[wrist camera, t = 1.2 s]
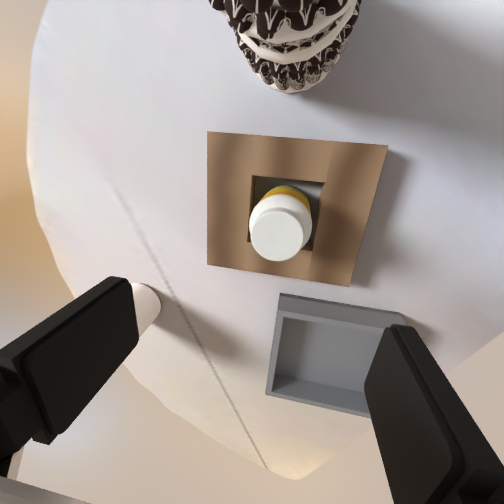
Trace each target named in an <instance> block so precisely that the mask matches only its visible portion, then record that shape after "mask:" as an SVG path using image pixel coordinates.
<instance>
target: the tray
mask: <svg viewBox="0 0 504 504" xmlns="http://www.w3.org/2000/svg"><path fill="white" fill-rule="evenodd" d="M392 324H399V325H405V326H407V324H406V322H405V321H404V319H403V317H402V316H401V314H400V313H398V312H392V311H386V310H380V309H374V308H368V307H362V306H356V305H350V304H344V303H338V302H332V301H326V300H320V299H314V298H307V297H301V296H295V295H289V294H283V293H280V296H279V303H278V310H277V316H276V323H275V330H274V337H273V344H272V351H271V358H270V364H269V371H268V378H267V385H266V392H265V395H269V396H274V397H278V398H283V399H287V400H292V401H296V402H300V403H305V404H309V405H314V406H318V407H322V408H327V409H331V410H336V411H340V412H345V413H349V414H353V415H358V416H362V417H367V418H371V416H370V412H369V408H368V405H367V401H366V397H365V393H364V382H365V379H366V377H367V374H368V371H369V369H370V366H371V363H372V361H373V358H374V355H375V353H376V350H377V348H378V345H379V342H380V340H381V337H382V334H383V332H384V329H385V328H386V327H390V326H391V325H392Z"/></svg>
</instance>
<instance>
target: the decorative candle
mask: <svg viewBox="0 0 504 504" xmlns="http://www.w3.org/2000/svg"><path fill="white" fill-rule="evenodd" d="M209 2H210V4H211V6H212V8H214V9H216V10H218V11H221V12H222V13H223V14H224V15H225V16H226V17H227V18H228V23H229V25H230V27H231V28H233V29H234V33H235V35H236V36H237V42H238V45H239V48H240V49H241V50H242V51H243V53H244V55H245V57H246V58H247V61H248V63H249V65H250V66H251V67H252V69H253V71H254V72H255V73H257V75H258V76H259V77H260V78H261V79H262V80H263V81H264V82H265V83H266V84H267V85H268V86H269V87H270V88H272V89H275V90H278V91H282V92H285V93H294V92H300V91H306V90H308V89H309V88H311V87H313V86H314V85H316V84H317V83H319V82H320V81H322V80H323V79H324V78H325V77H326V76H327V74H328V73H329V72H330V70H331V69H332V68H333V66H334V65H335V64H336V63H337V61H338V59H339V56H340V54H341V53H342V52H343V51H344V49H345V45H346V44H347V42H348V39H349V35H350V33H351V31H352V29H353V25H354V24H355V22H356V20H357V18H358V15H359V6H360V4H361V0H209Z"/></svg>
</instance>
